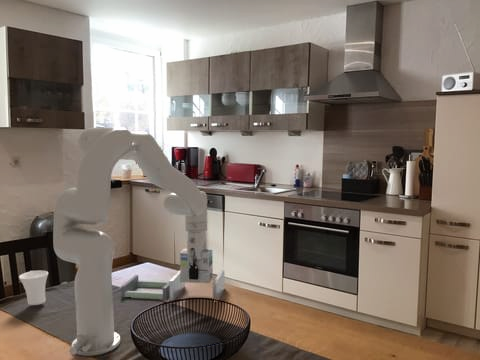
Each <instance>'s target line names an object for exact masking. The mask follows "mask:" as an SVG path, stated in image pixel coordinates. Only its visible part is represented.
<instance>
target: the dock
mask: <svg viewBox="0 0 480 360" xmlns="http://www.w3.org/2000/svg"><path fill="white" fill-rule="evenodd" d="M120 287H121V288H120V289H121V291H120V292H121V298H125V297H131V299H148V300H149V299H150V300H167V299H168V298H170V285H169V281H164V280H163V281H161V280H140V279H139V275H138V274H135V275H133V276H132V277H131V278H130V279H128V280H127V281H126V282H125V283H123V284H122V285H121V286H120ZM137 287H139V288H141V287H142V288H143V287H144V288H162V292H161V291H140V290H139V291H135V289H136V288H137Z"/></svg>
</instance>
